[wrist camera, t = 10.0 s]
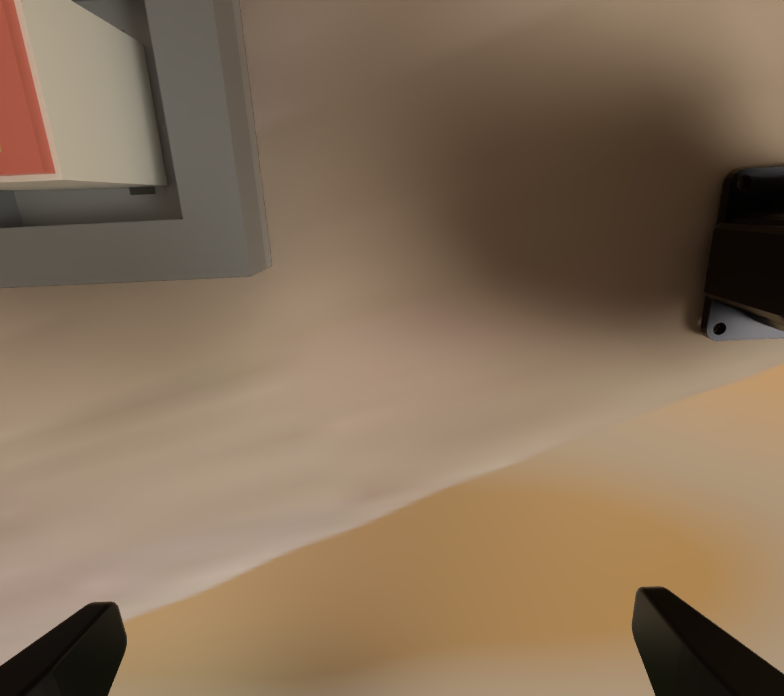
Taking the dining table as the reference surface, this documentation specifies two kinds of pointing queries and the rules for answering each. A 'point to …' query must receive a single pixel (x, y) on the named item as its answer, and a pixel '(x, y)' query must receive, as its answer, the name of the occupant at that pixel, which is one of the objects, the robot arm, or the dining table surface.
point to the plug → (73, 102)
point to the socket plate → (182, 165)
